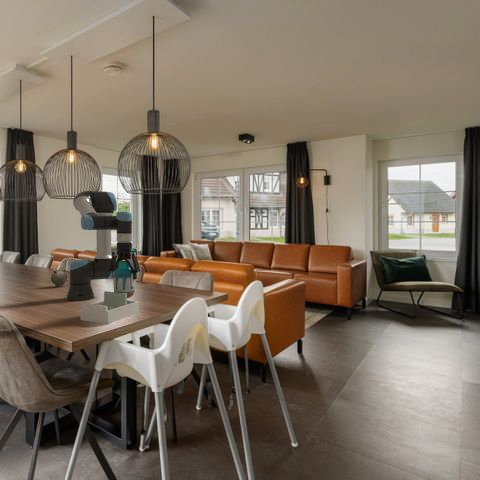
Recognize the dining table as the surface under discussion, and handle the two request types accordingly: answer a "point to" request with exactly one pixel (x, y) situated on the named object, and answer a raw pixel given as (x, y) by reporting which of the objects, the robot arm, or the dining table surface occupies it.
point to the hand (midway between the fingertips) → (124, 285)
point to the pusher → (114, 299)
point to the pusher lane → (107, 312)
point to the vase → (123, 279)
